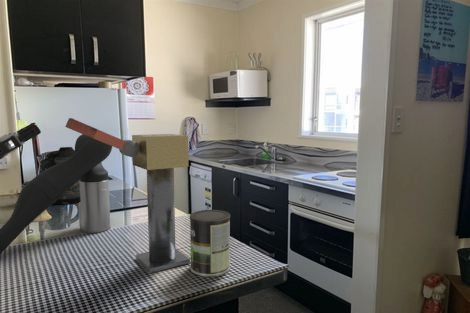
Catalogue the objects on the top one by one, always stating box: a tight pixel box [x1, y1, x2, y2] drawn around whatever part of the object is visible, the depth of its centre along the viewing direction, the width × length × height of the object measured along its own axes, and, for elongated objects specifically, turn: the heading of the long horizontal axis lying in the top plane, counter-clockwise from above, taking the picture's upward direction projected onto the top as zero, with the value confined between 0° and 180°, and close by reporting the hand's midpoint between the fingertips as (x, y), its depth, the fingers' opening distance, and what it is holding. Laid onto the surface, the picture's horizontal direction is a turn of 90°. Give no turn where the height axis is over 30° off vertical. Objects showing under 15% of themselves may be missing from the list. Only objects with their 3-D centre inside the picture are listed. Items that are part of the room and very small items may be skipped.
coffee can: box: [189, 209, 231, 278], centre depth 90 cm, size 10×10×14 cm
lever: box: [65, 117, 140, 158], centre depth 84 cm, size 17×4×4 cm, turn 123°
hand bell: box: [32, 209, 52, 223], centre depth 133 cm, size 8×8×16 cm
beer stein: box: [39, 146, 81, 205], centre depth 162 cm, size 16×19×25 cm
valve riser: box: [131, 133, 191, 274], centre depth 93 cm, size 11×11×34 cm
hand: (36, 127), depth 79 cm, fingers open, 8 cm apart
